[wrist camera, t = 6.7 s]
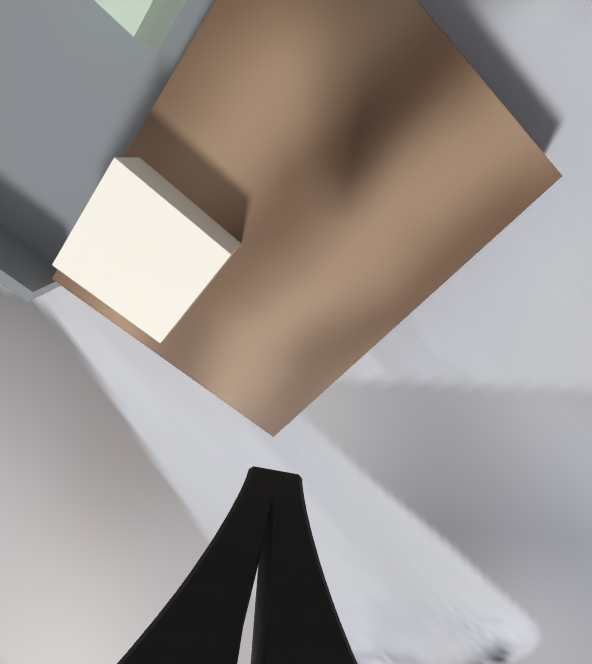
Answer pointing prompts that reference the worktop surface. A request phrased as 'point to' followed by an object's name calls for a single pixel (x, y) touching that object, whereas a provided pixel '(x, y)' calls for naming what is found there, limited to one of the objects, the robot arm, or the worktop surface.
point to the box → (68, 119)
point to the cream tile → (144, 247)
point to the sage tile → (144, 18)
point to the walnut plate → (325, 187)
